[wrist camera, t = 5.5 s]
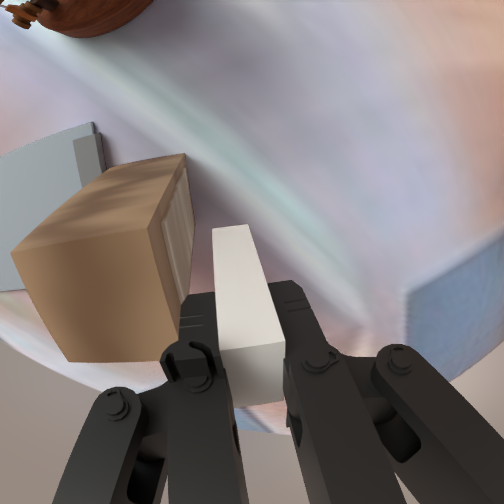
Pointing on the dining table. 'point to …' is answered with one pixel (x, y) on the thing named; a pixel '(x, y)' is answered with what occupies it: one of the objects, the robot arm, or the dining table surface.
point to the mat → (42, 186)
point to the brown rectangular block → (114, 263)
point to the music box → (77, 15)
